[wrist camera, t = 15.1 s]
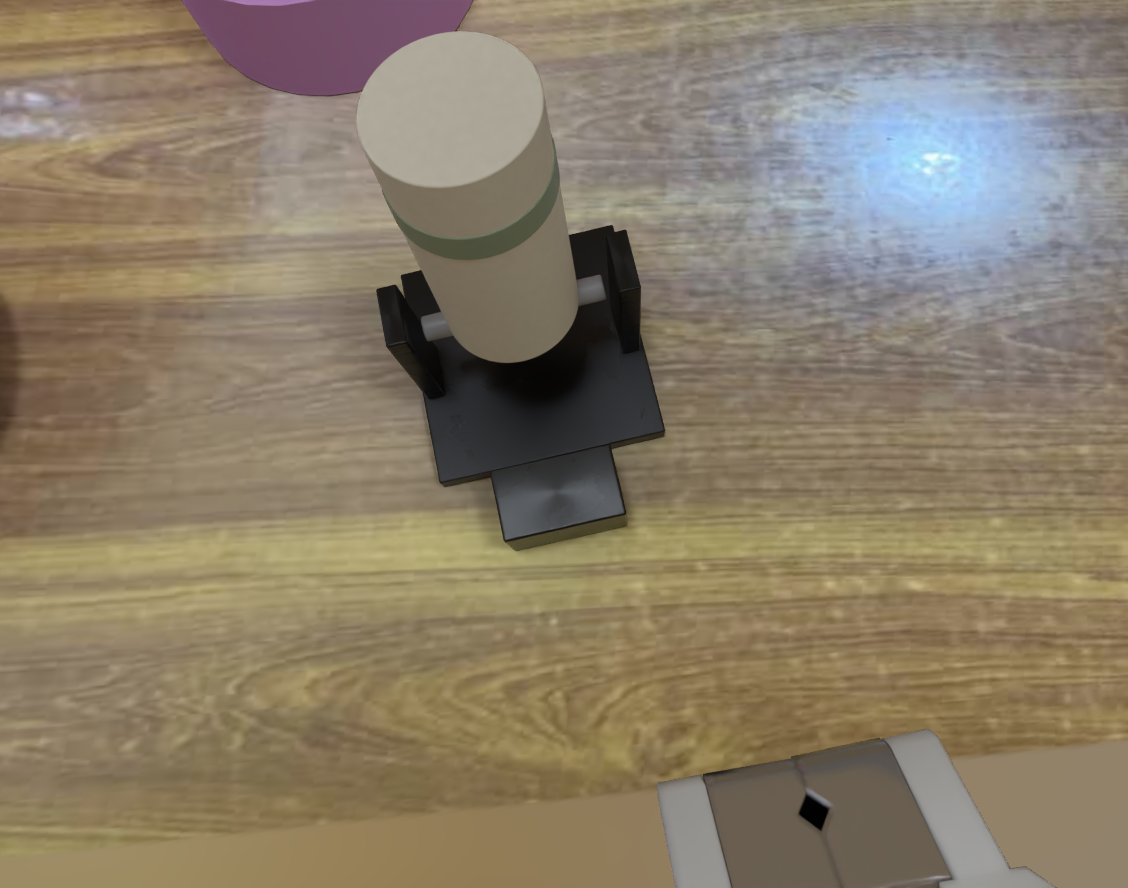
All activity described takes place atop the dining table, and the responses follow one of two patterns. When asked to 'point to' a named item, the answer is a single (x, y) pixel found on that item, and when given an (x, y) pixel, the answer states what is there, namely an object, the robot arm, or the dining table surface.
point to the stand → (539, 402)
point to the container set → (319, 37)
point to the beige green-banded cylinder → (476, 191)
